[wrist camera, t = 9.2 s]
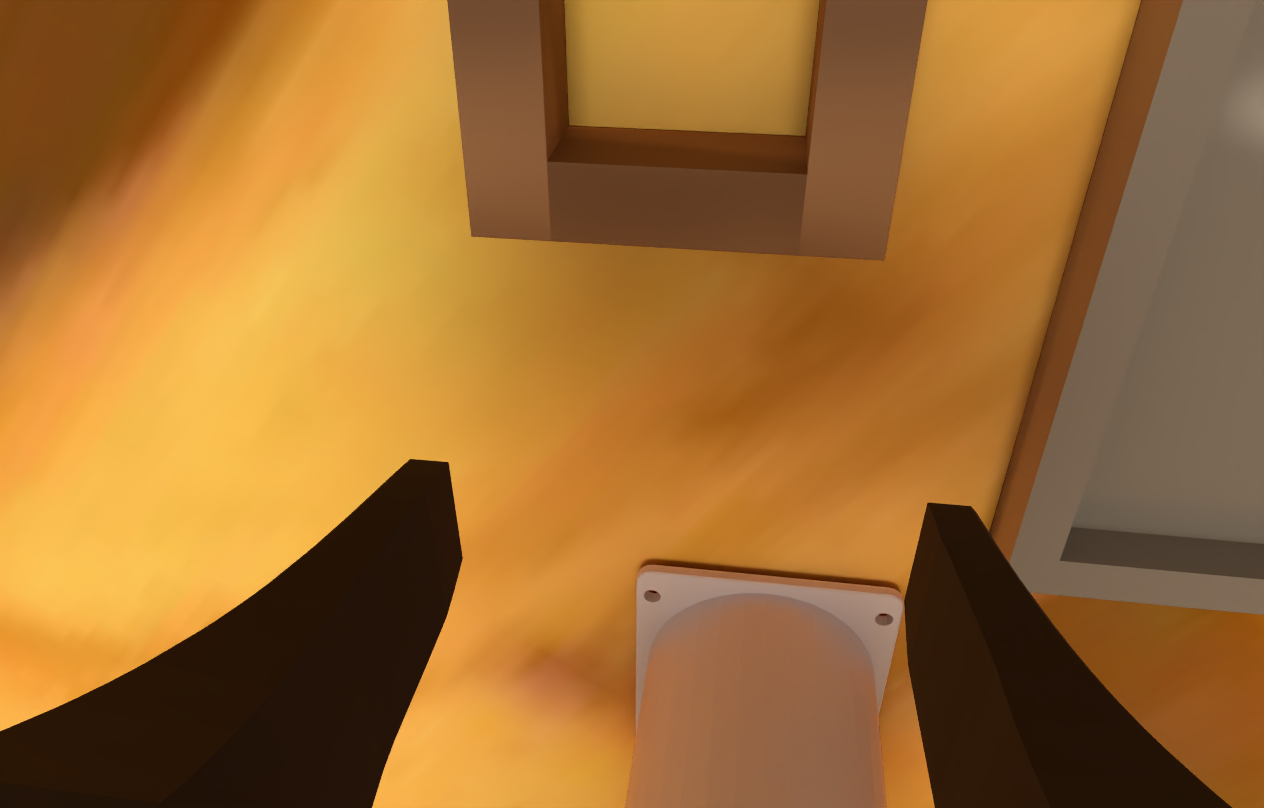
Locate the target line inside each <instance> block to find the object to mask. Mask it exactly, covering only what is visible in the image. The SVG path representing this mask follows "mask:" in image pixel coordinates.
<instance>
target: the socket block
mask: <svg viewBox="0 0 1264 808" xmlns="http://www.w3.org/2000/svg"><path fill="white" fill-rule="evenodd" d="M447 1H448V10H449V20H450V30H451V40H452V50H453V59H454V69H455V79H456V89H457V99H458V109H459V118H460V128H461V138H462V148H463V158H464V167H465V177H466V187H467V197H468V207H469V216H470V226H471V236H472V237H489V238H506V239H523V240H540V241H558V242H575V243H592V244H609V245H626V246H643V247H660V248H677V249H694V250H711V251H728V252H745V253H762V254H779V255H796V256H813V257H830V258H847V259H864V260H881V261H884V259H885V253H886V247H887V241H888V235H889V229H890V223H891V217H892V211H893V205H894V199H895V193H896V187H897V181H898V175H899V169H900V163H901V157H902V151H903V145H904V139H905V133H906V127H907V121H908V115H909V109H910V103H911V97H912V91H913V85H914V79H915V73H916V67H917V61H918V55H919V48H920V42H921V36H922V30H923V24H924V18H925V12H926V6H927V0H820V4H819V13H818V23H817V32H816V42H815V51H814V60H813V70H812V79H811V89H810V98H809V108H808V117H807V126H806V136H784V135H761V134H739V133H717V132H694V131H672V130H649V129H627V128H605V127H582V126H569V122H568V95H567V67H566V40H565V13H564V0H447Z"/></svg>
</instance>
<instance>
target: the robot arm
mask: <svg viewBox="0 0 1264 808" xmlns="http://www.w3.org/2000/svg"><path fill="white" fill-rule="evenodd" d="M462 559H463V557H462V551H461V544H460V537H459V530H458V524H457V517H456V510H455V503H454V497H453V490H452V483H451V476H450V470H449V463H448V462H439V461H427V460H415V459H410V460H409V461H408V462H407V463H405V464H404V465H403V466H402V467H401V468H400V469H399V470H398V471H396V472H395V473H394V474H393V475H392V476H391V477H390V478H389V479H388V480H387V481H386V482H385V483H383V484H382V485H381V486H380V487H379V488H378V489H377V490H376V491H375V492H374V493H373V494H372V495H371V496H370V497H369V498H367V499H366V500H365V501H364V502H363V503H362V504H361V505H360V506H359V507H358V508H357V509H356V510H354V511H353V512H352V513H351V514H350V515H349V516H348V517H347V518H346V519H345V520H343V521H342V522H341V523H340V524H339V525H338V526H337V527H336V528H334V529H333V530H332V531H331V532H330V533H329V534H328V535H327V536H325V537H324V538H323V539H322V540H321V541H320V542H319V543H317V544H316V545H315V546H314V547H313V548H312V549H310V550H309V551H308V552H307V553H306V554H305V555H303V556H302V557H301V558H300V559H298V560H297V561H296V562H295V563H293V564H292V565H291V566H290V567H288V568H287V569H286V570H285V571H283V572H282V573H281V574H280V575H278V576H277V577H276V578H275V579H273V580H272V581H271V582H270V583H268V584H267V585H266V586H265V587H263V588H262V589H261V590H259V591H258V592H257V593H255V594H254V595H252V596H251V597H250V598H248V599H247V600H245V601H244V602H243V603H241V604H240V605H238V606H237V607H235V608H234V609H232V610H231V611H229V612H228V613H226V614H225V615H223V616H222V617H221V618H219V619H218V620H216V621H215V622H213V623H212V624H210V625H208V626H207V627H205V628H204V629H202V630H201V631H199V632H197V633H196V634H194V635H192V636H190V637H189V638H187V639H185V640H184V641H182V642H180V643H179V644H177V645H175V646H174V647H172V648H170V649H168V650H167V651H165V652H163V653H162V654H160V655H158V656H157V657H155V658H153V659H151V660H150V661H148V662H146V663H145V664H143V665H141V666H139V667H137V668H135V669H133V670H132V671H130V672H128V673H126V674H124V675H122V676H120V677H118V678H116V679H114V680H112V681H111V682H109V683H107V684H105V685H103V686H100V687H98V688H96V689H94V690H92V691H90V692H88V693H86V694H84V695H82V696H80V697H78V698H76V699H74V700H72V701H69V702H67V703H65V704H63V705H61V706H59V707H56V708H54V709H52V710H50V711H47V712H45V713H43V714H40V715H38V716H35V717H33V718H31V719H28V720H26V721H24V722H21V723H19V724H17V725H14V726H12V727H10V728H7V729H5V730H3V731H0V808H372V805H373V802H374V799H375V796H376V792H377V789H378V786H379V783H380V780H381V776H382V773H383V770H384V767H385V764H386V762H387V759H388V756H389V754H390V751H391V748H392V746H393V743H394V740H395V738H396V736H397V733H398V731H399V729H400V726H401V724H402V722H403V719H404V717H405V714H406V712H407V710H408V707H409V705H410V703H411V700H412V698H413V696H414V693H415V691H416V689H417V686H418V684H419V682H420V679H421V677H422V675H423V672H424V670H425V668H426V665H427V663H428V660H429V658H430V656H431V653H432V651H433V648H434V646H435V644H436V641H437V639H438V636H439V634H440V632H441V629H442V627H443V624H444V622H445V619H446V617H447V614H448V610H449V607H450V603H451V600H452V596H453V593H454V589H455V585H456V582H457V578H458V574H459V570H460V566H461V563H462ZM648 590H654V591H657V592H658V593H651V592H649V591H648ZM904 604H905V623H906V640H907V655H908V666H909V672H910V677H911V683H912V688H913V694H914V699H915V704H916V710H917V715H918V721H919V726H920V731H921V736H922V741H923V747H924V752H925V757H926V762H927V768H928V773H929V778H930V783H931V789H932V794H933V799H934V804H935V808H1232V807H1231V806H1230V805H1228V804H1227V803H1226V802H1225V801H1224V800H1222V799H1221V798H1220V797H1219V796H1218V795H1216V794H1215V793H1214V792H1213V791H1212V790H1211V789H1209V788H1208V787H1207V786H1206V785H1205V784H1204V783H1203V782H1202V781H1200V780H1199V779H1198V778H1197V777H1196V776H1195V775H1194V774H1193V773H1192V772H1190V771H1189V770H1188V769H1187V768H1186V767H1185V766H1184V765H1183V764H1182V763H1180V762H1179V761H1178V760H1177V759H1176V758H1175V757H1174V756H1173V755H1171V754H1170V753H1169V752H1168V751H1167V750H1166V749H1165V748H1164V747H1163V746H1162V745H1161V744H1160V743H1159V742H1158V741H1157V740H1156V739H1154V738H1153V737H1152V736H1151V735H1150V734H1149V733H1148V732H1147V731H1146V730H1145V729H1144V728H1143V727H1142V726H1141V725H1140V724H1139V723H1138V722H1137V721H1136V720H1135V719H1134V718H1133V716H1132V715H1131V714H1130V713H1129V712H1128V711H1127V710H1126V709H1125V708H1124V707H1123V706H1122V705H1121V704H1120V703H1119V702H1118V701H1117V700H1116V699H1115V698H1114V696H1113V695H1112V694H1111V693H1110V692H1109V691H1108V690H1107V689H1106V688H1105V687H1104V685H1103V684H1102V683H1101V682H1100V681H1099V680H1098V679H1097V677H1096V676H1095V675H1094V674H1093V673H1092V672H1091V670H1090V669H1089V668H1088V667H1087V666H1086V664H1085V663H1084V662H1083V661H1082V660H1081V658H1080V657H1079V656H1078V655H1077V654H1076V652H1075V651H1074V650H1073V649H1072V648H1071V646H1070V645H1069V644H1068V643H1067V641H1066V640H1065V639H1064V638H1063V636H1062V635H1061V634H1060V632H1059V631H1058V630H1057V629H1056V627H1055V626H1054V625H1053V623H1052V622H1051V621H1050V619H1049V618H1048V617H1047V615H1046V614H1045V613H1044V611H1043V610H1042V609H1041V607H1040V606H1039V605H1038V603H1037V602H1036V601H1035V599H1034V598H1033V596H1032V595H1031V594H1030V592H1029V591H1028V590H1027V588H1026V587H1025V585H1024V584H1023V582H1022V581H1021V580H1020V578H1019V577H1018V575H1017V574H1016V572H1015V571H1014V569H1013V568H1012V566H1011V565H1010V564H1009V562H1008V561H1007V559H1006V558H1005V556H1004V555H1003V553H1002V552H1001V550H1000V549H999V547H998V546H997V544H996V542H995V541H994V539H993V538H992V536H991V535H990V533H989V532H988V530H987V528H986V527H985V525H984V524H983V522H982V521H981V519H980V517H979V516H978V514H977V513H976V512H975V510H974V509H973V508H972V507H971V506H961V505H949V504H937V503H928V504H927V508H926V512H925V516H924V520H923V525H922V529H921V533H920V537H919V541H918V545H917V550H916V554H915V558H914V562H913V566H912V570H911V575H910V579H909V583H908V587H907V591H906V596H905V600H904ZM903 609H904V606H903V597H902V595H901V593H900V592H899V591H897V590H896V589H893V588H889V587H880V586H870V585H859V584H849V583H839V582H828V581H818V580H807V579H797V578H787V577H776V576H766V575H756V574H745V573H735V572H725V571H714V570H704V569H694V568H683V567H673V566H663V565H646V566H644V567H642V568H641V569H640V570H639V572H638V576H637V581H636V740H635V746H634V753H633V759H632V765H631V772H630V778H629V785H628V791H627V797H626V804H625V808H887V802H886V792H885V781H884V771H883V760H882V750H881V740H880V729H879V719H878V717H879V713H880V708H881V704H882V700H883V695H884V691H885V687H886V682H887V678H888V674H889V669H890V665H891V661H892V656H893V652H894V648H895V643H896V639H897V635H898V630H899V626H900V622H901V618H902V613H903ZM883 613H886V614H889V615H887V616H880V615H879V614H883Z"/></svg>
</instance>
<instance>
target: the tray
mask: <svg viewBox="0 0 1264 808" xmlns="http://www.w3.org/2000/svg"><path fill="white" fill-rule="evenodd" d="M990 535H991V536H992V538H993V539H994V541H995V542H996V544H997V546H998V547H999V549H1000V550H1001V552H1002V553H1003V555H1004V556H1005V558H1006V559H1007V561H1008V562H1009V564H1010V565H1011V566H1012V568H1013V569H1014V571H1015V572H1016V574H1017V575H1018V577H1019V578H1020V580H1021V581H1022V582H1023V584H1024V585H1025V587H1026V588H1027V590H1028V591H1029V592H1031V593H1042V594H1052V595H1063V596H1073V597H1084V598H1094V599H1105V600H1115V601H1126V602H1136V603H1146V604H1157V605H1167V606H1178V607H1188V608H1199V609H1209V610H1220V611H1230V612H1241V613H1251V614H1262V615H1264V0H1142V2H1141V6H1140V9H1139V13H1138V16H1137V20H1136V23H1135V27H1134V30H1133V34H1132V37H1131V41H1130V44H1129V48H1128V51H1127V55H1126V58H1125V62H1124V65H1123V69H1122V72H1121V76H1120V79H1119V83H1118V86H1117V90H1116V93H1115V97H1114V100H1113V104H1112V107H1111V111H1110V114H1109V118H1108V121H1107V125H1106V128H1105V132H1104V135H1103V139H1102V142H1101V146H1100V149H1099V153H1098V156H1097V160H1096V163H1095V167H1094V170H1093V174H1092V177H1091V181H1090V184H1089V188H1088V191H1087V195H1086V198H1085V202H1084V205H1083V209H1082V212H1081V216H1080V219H1079V223H1078V226H1077V230H1076V233H1075V237H1074V240H1073V244H1072V247H1071V251H1070V254H1069V258H1068V261H1067V265H1066V268H1065V272H1064V275H1063V279H1062V282H1061V286H1060V289H1059V293H1058V296H1057V300H1056V303H1055V307H1054V310H1053V314H1052V317H1051V321H1050V324H1049V328H1048V331H1047V335H1046V338H1045V342H1044V345H1043V348H1042V352H1041V355H1040V359H1039V362H1038V366H1037V369H1036V373H1035V376H1034V380H1033V383H1032V387H1031V390H1030V394H1029V397H1028V401H1027V404H1026V408H1025V411H1024V415H1023V418H1022V422H1021V425H1020V429H1019V432H1018V436H1017V439H1016V443H1015V446H1014V450H1013V453H1012V457H1011V460H1010V464H1009V467H1008V471H1007V474H1006V478H1005V481H1004V485H1003V488H1002V492H1001V495H1000V499H999V502H998V506H997V509H996V513H995V516H994V520H993V523H992V527H991V530H990Z"/></svg>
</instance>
